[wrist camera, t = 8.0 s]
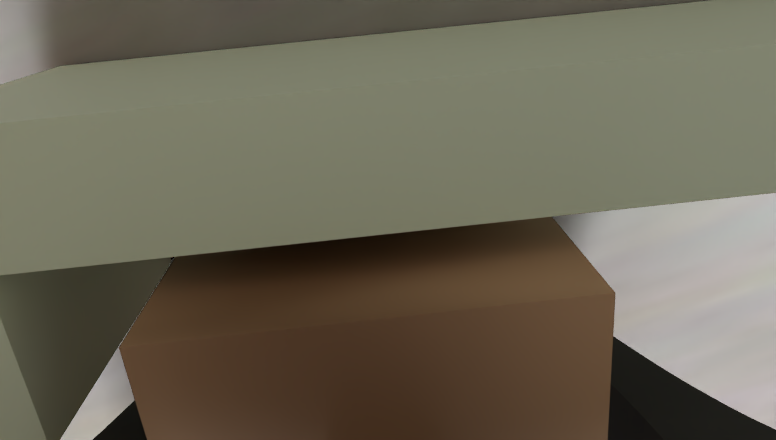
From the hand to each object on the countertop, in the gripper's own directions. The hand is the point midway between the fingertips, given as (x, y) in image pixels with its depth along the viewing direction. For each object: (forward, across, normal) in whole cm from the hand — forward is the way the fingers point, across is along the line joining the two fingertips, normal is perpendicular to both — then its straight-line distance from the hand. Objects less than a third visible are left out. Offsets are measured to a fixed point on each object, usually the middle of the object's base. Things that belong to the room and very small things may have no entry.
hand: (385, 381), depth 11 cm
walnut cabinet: (+2, 0, -1) cm, 2 cm away
